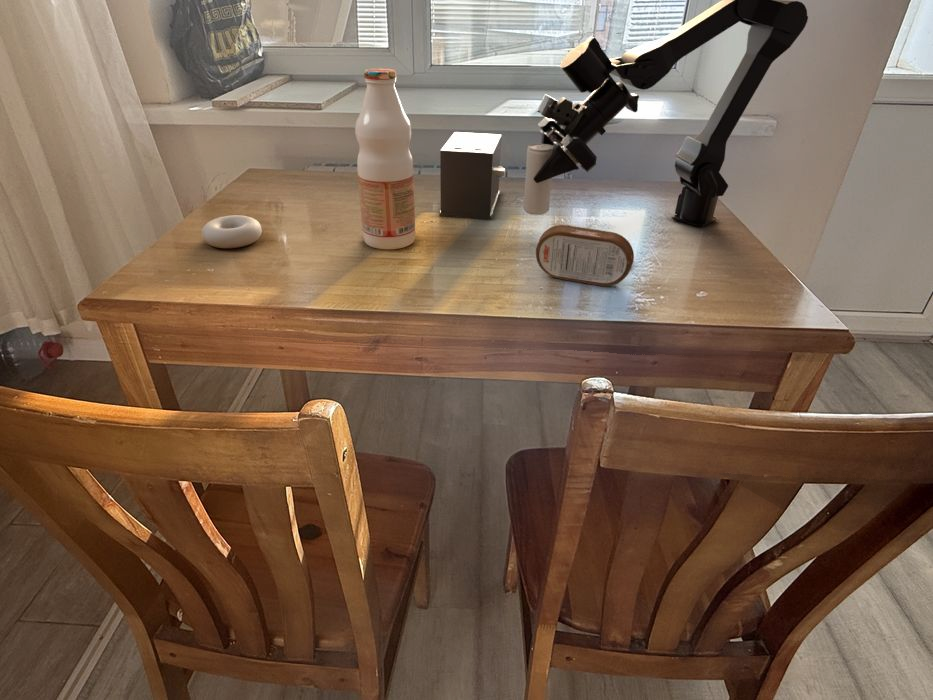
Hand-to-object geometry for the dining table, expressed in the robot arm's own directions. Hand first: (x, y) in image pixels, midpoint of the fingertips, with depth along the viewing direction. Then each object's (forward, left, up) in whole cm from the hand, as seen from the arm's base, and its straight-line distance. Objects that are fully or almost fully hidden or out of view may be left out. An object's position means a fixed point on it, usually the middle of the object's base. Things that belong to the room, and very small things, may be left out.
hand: (531, 177), depth 107 cm
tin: (-21, +11, -10) cm, 26 cm away
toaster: (+17, -1, -10) cm, 19 cm away
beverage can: (-1, -1, -7) cm, 7 cm away
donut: (+30, +45, -10) cm, 55 cm away
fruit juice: (+12, +24, -10) cm, 29 cm away
